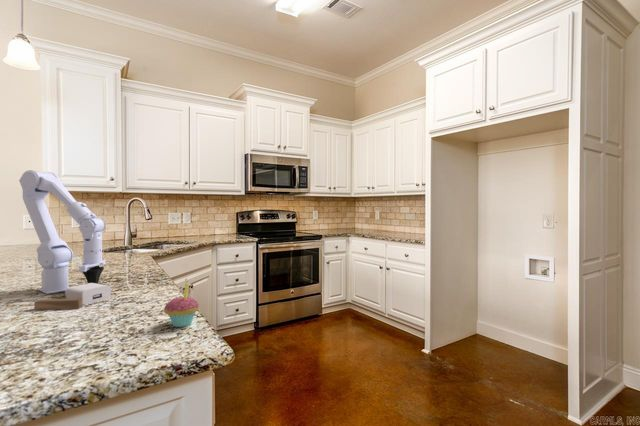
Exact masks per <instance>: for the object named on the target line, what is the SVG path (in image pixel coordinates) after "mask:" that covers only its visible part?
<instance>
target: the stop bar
mask: <svg viewBox="0 0 640 426" xmlns="http://www.w3.org/2000/svg"><path fill="white" fill-rule="evenodd" d="M33 303H34V311H47V310H70V309H71V310H72V309H80V308H82V307H83V305H84V304H83V298H73V299H66V298H52V299H51V298H50V299H49V298H48V299H39V300H35V301H34V302H33Z"/></svg>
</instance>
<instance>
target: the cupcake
mask: <svg viewBox="0 0 640 426" xmlns="http://www.w3.org/2000/svg"><path fill="white" fill-rule="evenodd" d="M188 289H189V280H187V282H186V283H185V288H184V293H183V294H184V295H183V297H176V298H173V299H171V300H170V301H168V302H167V303H166V304H165V306H164V308H163V312H164V313H165V314H166V315H168V316H169V318H170V322H171V324H172V326H173V327H176V328H182V327H188V326H190V325H192V323H193V319H194V317H195V314H196V312H198V310H199V306H200V304H199V303H198V301H197V300H195V298H192V297H190V296H188Z"/></svg>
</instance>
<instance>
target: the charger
mask: <svg viewBox="0 0 640 426" xmlns="http://www.w3.org/2000/svg"><path fill="white" fill-rule="evenodd" d="M63 292H64V294H65V299H73V298H83V305H89V304H92V303H96V302H100V301H104V300H108V299H110V298H111V297H112V286H111V285H109V284H108V285H107V284H103V283H102V284H101V283H98V284H96V283H88V282H87V283H84V284H78V285H73V286H69V288H67V289H66V291H63Z"/></svg>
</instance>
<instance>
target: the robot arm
mask: <svg viewBox="0 0 640 426" xmlns="http://www.w3.org/2000/svg"><path fill="white" fill-rule="evenodd" d="M18 181H19V183H20V186H21V189H22V201H23V203H24V205H25V207H26V211H27V212H28V214H29V217H30V219H31V222H32V225H33V227H34V229H35V232H36V235H37V237H38V240H39V242H40V244H39V245H38V247H37V248H36V252H37V262H38V264H39V265H40V266H41V268H42V270H41V287H40V288H38V289H37V290H38V291H40V292H41V293H44V294H47V295H48V294H54V293H60V292H65V291H66V289H67V288H69V287H70V286H69V283H70V282H69V281H70V280H69V276H70V275H69V265H70V262H71V261H72V260H73V258H74V252H73V249H71V247H69V246H68V243H67V242H66V241H64V240H62V239H61V238H60V237H59V234H58V231H57V229H56V227H55V225H54V222H53V220H52V217H51V215H50V212H49V210H48V206H47V204H46V202H45V198H46V197H47V196H48V195H49V194H50V193H51V194H52V195H53V196H54V197H56V198H57V199H58V200H59V202H61V203H63V205H64V206H65V207H67V208H66V212H67V214H68V215H69V216H71V218H72V219H73V220H74V221H75V222H76V223H77V224H78V225H79V226H78V230H79V232H80V233H81V236H82V241H83V242H82V243H83V244H82V245H83V246H82V247H83V251H82V252H83V253H82V255H83V259H82V260H83V263H82V264H81V265H79V266H78V272H81V273H82V274H83V275H84V277H85V279H86V282H87V284H88V283H96V284H99V281H100V278H101V274H103V271H104V268H105V267H104V266H103V265H106V264H107V263H106V259H103V232H104V231H105V229H106V222H105V221H104V219H103V218H102V217H98V216H97V215H96V214H95V213H94V212H92V211H91V210H90V208H88V205H87V204H86V203H84V202H81V201H77V200H76V199H75V198H74V196H72V194H71V193H70V192H69V191H68V190H67V188H66V187H65V186H64V185H63V184H62V183H63V182H62V179H61V178H59V177H58V175H56V174H55V173H54V172H45V171H37V170H32V169H31V170H26V171H25V172H23V173H22V175H21V177H20V178H19V180H18Z"/></svg>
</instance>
